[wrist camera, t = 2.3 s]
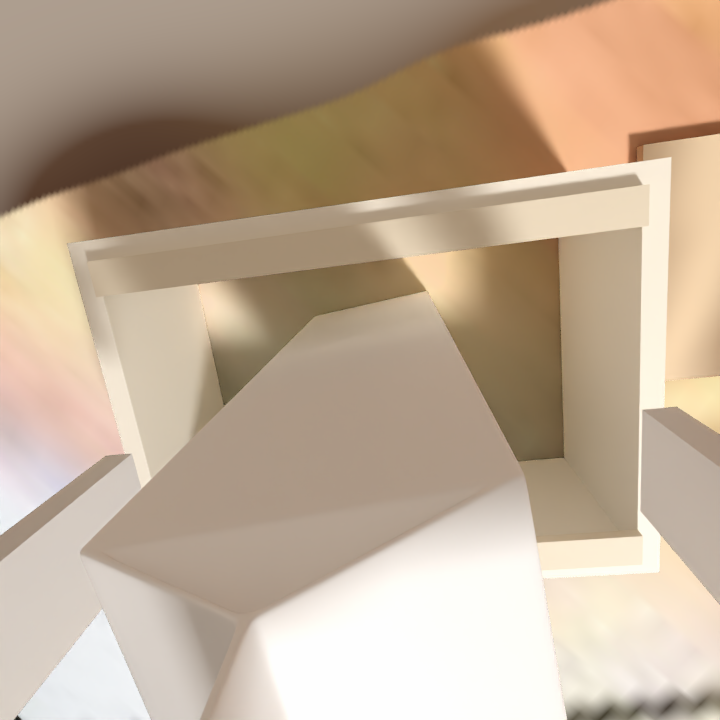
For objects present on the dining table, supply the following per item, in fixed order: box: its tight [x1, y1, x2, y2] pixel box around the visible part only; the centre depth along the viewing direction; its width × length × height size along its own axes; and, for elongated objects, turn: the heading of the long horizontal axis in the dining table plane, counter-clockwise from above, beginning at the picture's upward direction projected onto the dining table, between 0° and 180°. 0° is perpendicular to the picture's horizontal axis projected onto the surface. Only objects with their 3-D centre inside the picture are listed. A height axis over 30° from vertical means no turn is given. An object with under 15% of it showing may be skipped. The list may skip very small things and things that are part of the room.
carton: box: [67, 157, 671, 579], centre depth 21 cm, size 20×15×8 cm
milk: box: [80, 291, 567, 720], centre depth 14 cm, size 6×6×22 cm
